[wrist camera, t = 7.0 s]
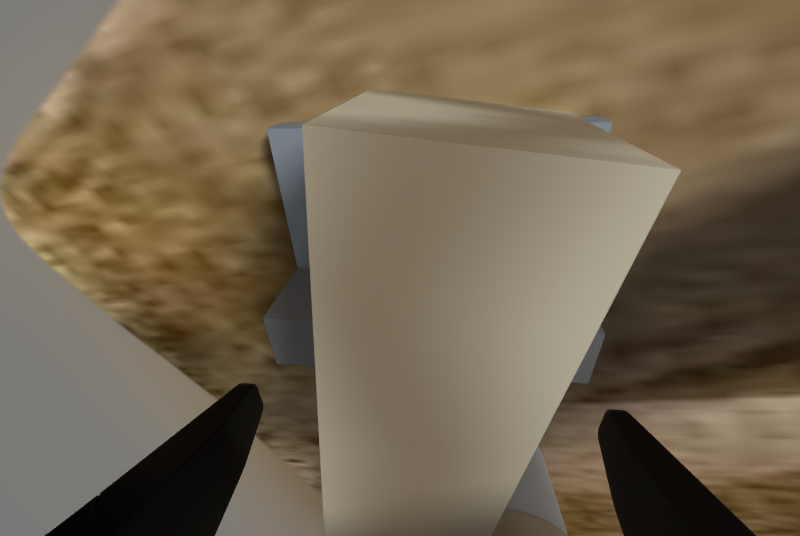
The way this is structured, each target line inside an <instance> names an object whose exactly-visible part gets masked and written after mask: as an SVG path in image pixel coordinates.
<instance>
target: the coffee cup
mask: <svg viewBox="0 0 800 536" xmlns="http://www.w3.org/2000/svg"><path fill="white" fill-rule="evenodd" d="M491 536H568V535H567V532H566V528H565V525H564V522H563V519H562V515H561V512H560V509H559V506H558V503H557V499H556V496H555V493H554V490H553V486H552V483H551V480H550V477H549V474H548V470H547V467H546V464H545V461H544V458H543V454H542V452H541V450H540V449H539V448H538V446H537V448H536V450H535V452H534V454H533V456H532V458H531V460H530V462H529V464H528V466H527V468H526V470H525V471H524V473H523V475H522V477H521V479H520V481H519V483H518V485H517V487H516V489H515V491H514V493H513V495H512V496H511V498H510V500H509V502H508V504H507V506H506V508H505V510H504V512H503V514H502V516H501V518H500V520H499V521H498V523H497V525H496V527H495V529H494V531H493V533H492V535H491Z"/></svg>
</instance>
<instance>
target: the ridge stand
mask: <svg viewBox="0 0 800 536" xmlns="http://www.w3.org/2000/svg"><path fill="white" fill-rule="evenodd" d="M579 118H581V119H583V120H585V121H587V122H589V123H591V124H593V125H595V126H597V127H599V128H601V129H603V130H604V131H606V132H608V133H610V131H611V127H612V123H613V122H612V121H610V120H607V119H605V118H603V117H600V116H582V117H579ZM302 124H304V123H279V124H277V125H275V126H272V127H270V128H268V129H267V133H268V137H269V142H270V146H271V151H272V155H273V160H274V164H275V169H276V173H277V178H278V182H279V187H280V191H281V196H282V200H283V205H284V209H285V213H286V218H287V222H288V227H289V231H290V236H291V240H292V245H293V249H294V254H295V258H296V263H297V267H298V268H297V269H296V271H295V272H294V274H293V275H292V276H291V278H290V279H289V281H288V282H287V284H286V285H285V287H284V288H283V289H282V291H281V292H280V294H279V295H278V297H277V298H276V300H275V301H274V302H273V304H272V305H271V307H270V308H269V310H268V311H267V313H266V314H265V316H264V317H263V321H264V324H265V327H266V331H267V334H268V337H269V340H270V344H271V347H272V350H273V353H274V356H275V360H276V363H277V364H283V365H299V366H315V354H314V336H313V317H312V299H311V281H310V262H309V244H308V226H307V207H306V189H305V171H304V152H303V134H302ZM605 335H606V334H605V332H604V330H603V329H602V327H601V325H600V327H599V329H598V331H597V333H596V335H595V337H594V339H593V341H592V343H591V345H590V347H589V348H588V350H587V352H586V354H585V356H584V358H583V360H582V362H581V364H580V366H579V368H578V370H577V372H576V373H575V375H574V377H573V379H572V381H571V383H585V384H588V383H589V380H590V378H591V375H592V372H593V369H594V366H595V363H596V360H597V358H598V355H599V352H600V349H601V346H602V343H603V341H604V338H605Z"/></svg>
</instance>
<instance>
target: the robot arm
mask: <svg viewBox="0 0 800 536" xmlns="http://www.w3.org/2000/svg"><path fill="white" fill-rule="evenodd" d="M262 412H263V402H262V399H261V396H260V394H259V391H258V388H257V386H256V385H255V384H248V383H241V384H239V385H237V386H236V387H234V388H233V389H232V390H231V391H229V392H228V393H227V394H226V395H224V396H223V397H222V398H220V399H219V400H218V401H217V402H216V403H214V404H213V405H212V406H210V407H209V408H208V409H206V410H205V411H204V412H203V413H201V414H200V415H199V416H198V417H196V418H195V419H194V420H193V421H191V422H190V423H189V424H187V425H186V426H185V427H184V428H182V429H181V430H180V431H179V432H177V433H176V434H175V435H174V436H172V437H171V438H170V439H168V440H167V441H166V442H165V443H163V444H162V445H161V446H159V447H158V448H157V449H156V450H154V451H153V452H152V453H151V454H149V455H148V456H147V457H146V458H144V459H143V460H142V461H140V462H139V463H138V464H137V465H136V466H134V467H133V468H132V469H130V470H129V471H128V472H126V473H125V474H124V475H123V476H121V477H120V478H119V479H118V480H116V481H115V482H114V483H113V484H111V485H110V486H109V487H107V488H106V489H105V490H104V491H102V492H101V493H100V496H96V497H95V498H93V499H92V500H91V501H89V502H88V503H87V504H86V505H84V506H83V507H82V508H81V509H79V510H78V511H77V512H75V513H74V514H73V515H71V516H70V517H69V518H67V519H66V520H65V521H64V522H62V523H61V524H60V525H58V526H57V527H56V528H54V529H53V530H52V531H51V532H49V533H48V534H46V535H45V536H215V534H216V532H217V529H218V527H219V525H220V522H221V520H222V518H223V515H224V513H225V511H226V508H227V506H228V504H229V502H230V499H231V497H232V495H233V493H234V490H235V488H236V486H237V483H238V481H239V479H240V476H241V474H242V472H243V469H244V467H245V464H246V461H247V458H248V454H249V452H250V449H251V446H252V443H253V440H254V436H255V433H256V430H257V427H258V424H259V421H260V418H261V415H262ZM598 440H599V444H600V448H601V453H602V457H603V461H604V466H605V470H606V474H607V479H608V483H609V487H610V492H611V496H612V500H613V504H614V507H615V510H616V514H617V517H618V520H619V523H620V526H621V529H622V531H623V534H624V536H756V535H755V534H754V533H753V532H752V531H751V530H750V529H749V528H748V527H747V526H746V525H745V524H744V523H743V522H742V521H741V520H740V519H738V518H737V517H736V516H735V515H734V514H733V513H732V512H731V511H730V510H729V509H728V508H727V507H726V506H725V505H724V504H723V503H722V502H721V501H720V500H719V499H718V498H717V497H716V496H715V495H714V494H713V493H712V492H710V491H709V490H708V489H707V488H706V487H705V486H704V485H703V484H702V483H701V482H700V481H699V480H698V479H697V478H696V477H695V476H694V475H693V474H692V473H691V472H690V471H689V470H688V469H687V468H686V467H685V466H683V465H682V464H681V463H680V462H679V461H678V460H677V459H676V458H675V457H674V456H673V455H672V454H671V453H670V452H669V451H668V450H667V449H666V448H665V447H664V446H663V445H662V444H661V443H660V442H659V441H658V440H657V439H655V438H654V437H653V436H652V435H651V434H650V433H649V432H648V431H647V430H646V429H645V428H644V427H643V426H642V425H641V424H640V423H639V422H638V421H637V420H636V419H635V418H634V417H633V416H632V415H631V414H629V413H628V412H626V411H624V410H613V409H609V410H607V411H606V412H605V415H604V417H603V419H602V422H601V424H600V427H599V429H598Z"/></svg>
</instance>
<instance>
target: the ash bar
mask: <svg viewBox="0 0 800 536" xmlns="http://www.w3.org/2000/svg"><path fill="white" fill-rule="evenodd" d="M302 134H303V152H304V171H305V189H306V207H307V226H308V244H309V262H310V281H311V299H312V317H313V336H314V354H315V372H316V391H317V409H318V428H319V446H320V464H321V483H322V499H323V519H324V536H491V535H492V533H493V531H494V529H495V527H496V525H497V523H498V521H499V520H500V518H501V516H502V514H503V512H504V510H505V508H506V506H507V504H508V502H509V500H510V498H511V496H512V495H513V493H514V491H515V489H516V487H517V485H518V483H519V481H520V479H521V477H522V475H523V473H524V471H525V470H526V468H527V466H528V464H529V462H530V460H531V458H532V456H533V454H534V452H535V450H536V448H537V446H538V445H539V443H540V441H541V439H542V437H543V435H544V433H545V431H546V429H547V427H548V425H549V423H550V421H551V420H552V418H553V416H554V414H555V412H556V410H557V408H558V406H559V404H560V402H561V400H562V398H563V397H564V395H565V393H566V391H567V389H568V387H569V385H570V383H571V381H572V379H573V377H574V375H575V373H576V372H577V370H578V368H579V366H580V364H581V362H582V360H583V358H584V356H585V354H586V352H587V350H588V348H589V347H590V345H591V343H592V341H593V339H594V337H595V335H596V333H597V331H598V329H599V327H600V325H601V323H602V322H603V320H604V318H605V316H606V314H607V312H608V310H609V308H610V306H611V304H612V302H613V300H614V298H615V297H616V295H617V293H618V291H619V289H620V287H621V285H622V283H623V281H624V279H625V277H626V275H627V273H628V272H629V270H630V268H631V266H632V264H633V262H634V260H635V258H636V256H637V254H638V252H639V250H640V248H641V247H642V245H643V243H644V241H645V239H646V237H647V235H648V233H649V231H650V229H651V227H652V225H653V224H654V222H655V220H656V218H657V216H658V214H659V212H660V210H661V208H662V206H663V204H664V202H665V200H666V199H667V197H668V195H669V193H670V191H671V189H672V187H673V185H674V183H675V181H676V179H677V177H678V175H679V174H680V172H681V170H680V169H678V168H676V167H674V166H672V165H670V164H668V163H666V162H664V161H662V160H660V159H659V158H657V157H655V156H653V155H651V154H649V153H647V152H645V151H643V150H641V149H639V148H637V147H635V146H633V145H632V144H630V143H628V142H626V141H624V140H622V139H620V138H618V137H616V136H614V135H612V134H610V133H608V132H606V131H604V130H603V129H601V128H599V127H597V126H595V125H593V124H591V123H589V122H587V121H585V120H583V119H581V118H579V117H577V116H576V115H574V114H572V113H570V112H564V111H555V110H546V109H537V108H529V107H520V106H511V105H502V104H493V103H485V102H476V101H467V100H458V99H450V98H441V97H432V96H423V95H415V94H406V93H397V92H388V91H380V90H371V89H370V90H369V91H367V92H365V93H363V94H361V95H359V96H357V97H355V98H353V99H351V100H349V101H347V102H345V103H343V104H341V105H339V106H337V107H335V108H333V109H331V110H329V111H328V112H326V113H324V114H322V115H320V116H318V117H316V118H314V119H312V120H310V121H308V122H306V123H304V124H302Z"/></svg>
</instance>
